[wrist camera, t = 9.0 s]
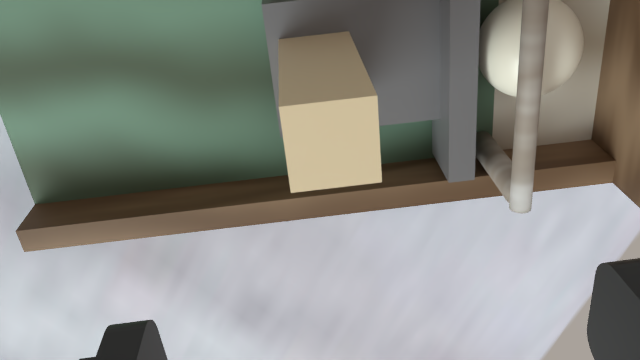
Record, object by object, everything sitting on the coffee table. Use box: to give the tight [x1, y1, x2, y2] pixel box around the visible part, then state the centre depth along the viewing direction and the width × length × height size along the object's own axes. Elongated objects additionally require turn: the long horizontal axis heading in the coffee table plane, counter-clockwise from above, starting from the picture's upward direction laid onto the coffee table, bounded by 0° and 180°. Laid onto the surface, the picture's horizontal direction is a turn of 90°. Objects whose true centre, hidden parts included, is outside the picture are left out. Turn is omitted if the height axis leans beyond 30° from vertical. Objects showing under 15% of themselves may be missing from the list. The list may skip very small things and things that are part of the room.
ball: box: [478, 0, 584, 97], centre depth 25 cm, size 4×4×4 cm
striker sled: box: [261, 0, 481, 193], centre depth 22 cm, size 11×9×10 cm
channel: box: [0, 0, 640, 252], centre depth 25 cm, size 14×30×8 cm, turn 96°
